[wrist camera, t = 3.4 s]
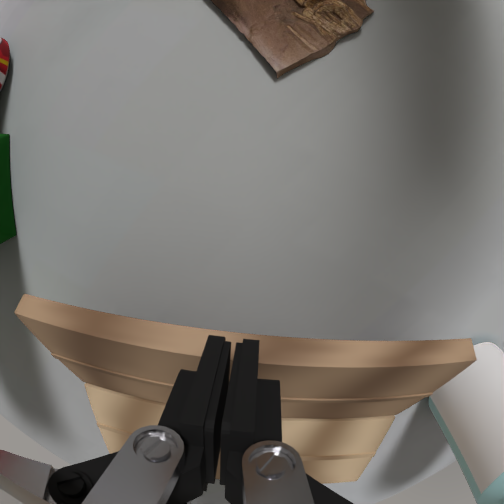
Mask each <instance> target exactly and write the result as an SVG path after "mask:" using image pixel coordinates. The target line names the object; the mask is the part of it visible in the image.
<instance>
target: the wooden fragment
mask: <svg viewBox="0 0 504 504" xmlns="http://www.w3.org/2000/svg"><path fill="white" fill-rule="evenodd" d="M211 1H212V2H213V3H214V4H215V5H216V6H217V7H218V8H219V9H220V10H221V11H222V13H223V14H225V15H226V16H227V17H228V18H229V19H230V21H231V22H232V23H233V24H235V25H236V27H237V28H238V30H239V31H240V32H241V33H243V34H245V37H246V38H247V39H248V40H249V41H250V42H251V43H252V44H253V46H254V47H255V48H256V49H257V50H258V51H259V52H260V54H261V55H262V56H263V57H265V58H266V61H268V62H269V64H270V65H271V66H272V67H273V68H274V70H275V71H276V73H277V78H279V77H280V76H281V75H283V74H284V73H286V72H288V71H290V70H292V69H294V68H296V67H298V66H300V65H302V64H304V63H306V62H309V61H311V60H314V59H317V58H321V57H323V56H325V55H327V54H329V53H330V52H331V51H332V50H333V48H334V47H335V44H336V41H338V40H339V39H341V38H343V37H344V36H346V35H348V34H351V33H355V32H358V30H359V29H360V27H361V26H362V24H363V19H365V18H366V17H367V16H369V15H370V14H372V13H373V12H374V10H372V9H370V8H369V7H368V6H367V4H366V0H211Z"/></svg>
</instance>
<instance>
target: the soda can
mask: <svg viewBox="0 0 504 504" xmlns="http://www.w3.org/2000/svg"><path fill="white" fill-rule="evenodd" d="M9 57H10V50H9V45H8V42H7V41H6V40H5V39H3V38H1V37H0V92H1V89H2V87H3V85H4V83H5V80H6V76H7V73H8V67H9Z"/></svg>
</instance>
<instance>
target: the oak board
mask: <svg viewBox="0 0 504 504" xmlns="http://www.w3.org/2000/svg"><path fill="white" fill-rule="evenodd" d="M85 388H86V391H87V395H88V398H89V401H90V404H91V407H92V409H93V412H94V415H95V418H96V421H97V425H98V427H99V428H100V431H101V434H102V436H103V439H104V441H105V443H106V446H107V448H108V450H109V453H110V454H111V453H115V452H118V451H119V450H120V449H121V448H122V446H123V445H124V443H125V442H126V441H127V439H128V438H129V436H130V435H131V434H132V433H133V432H134V431H136V430H137V429H139V428H141V427H145V426H149V425H158V423H159V420H160V418H161V415H162V413H163V410H164V408H165V405H166V403H162V402H158V401H153V400H148V399H144V398H140V397H136V396H132V395H128V394H124V393H120V392H116V391H113V390H109V389H105V388H102V387H99V386H95V385H92V384H89V383H85ZM394 419H395V416H394V415H388V416H376V417H360V418H329V419H311V418H281V420H282V442H283V443H286V444H288V445H290V446H291V447H293V448H294V449H295V450H296V451H297V452H298V453H299V455H300V457H301V459H302V462H303V466H304V469H305V473H307V474H308V475H309V476H311V477H312V478H314V479H315V480H317V481H318V482H320V483H321V484H323V483H339V482H351V481H357V480H358V478H359V477H360V476H361V474H362V473H363V471H364V470H365V468H366V466H367V465H368V463H369V462H370V460H371V459H372V457H374V455H375V454H376V451H377V449H378V447H379V446H380V444H381V442H382V440H383V439H384V437H385V435H386V433H387V432H388V430H389V428H390V426H391V424H392V423H393V421H394ZM220 450H221V448H220ZM215 479H220V454H219V460H218V466H217V472H216V478H215Z"/></svg>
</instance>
